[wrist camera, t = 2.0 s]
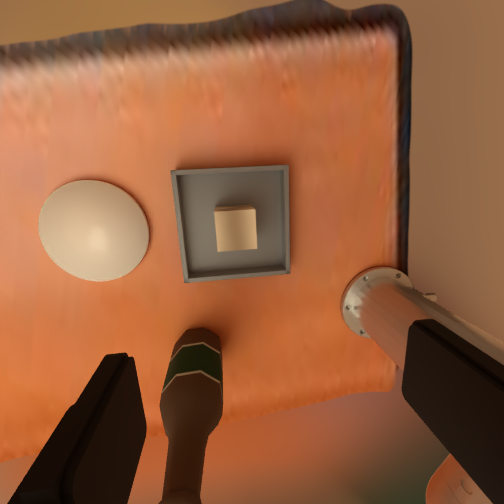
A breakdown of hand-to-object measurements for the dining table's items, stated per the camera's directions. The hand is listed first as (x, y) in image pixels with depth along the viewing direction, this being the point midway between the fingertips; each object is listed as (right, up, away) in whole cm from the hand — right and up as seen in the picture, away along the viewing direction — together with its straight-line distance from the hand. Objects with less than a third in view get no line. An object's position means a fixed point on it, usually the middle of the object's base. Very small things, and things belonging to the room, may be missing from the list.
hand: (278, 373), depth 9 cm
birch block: (-3, +8, +31) cm, 32 cm away
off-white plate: (-22, +7, +30) cm, 38 cm away
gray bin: (-4, +8, +31) cm, 33 cm away
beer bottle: (-9, -11, +36) cm, 39 cm away
